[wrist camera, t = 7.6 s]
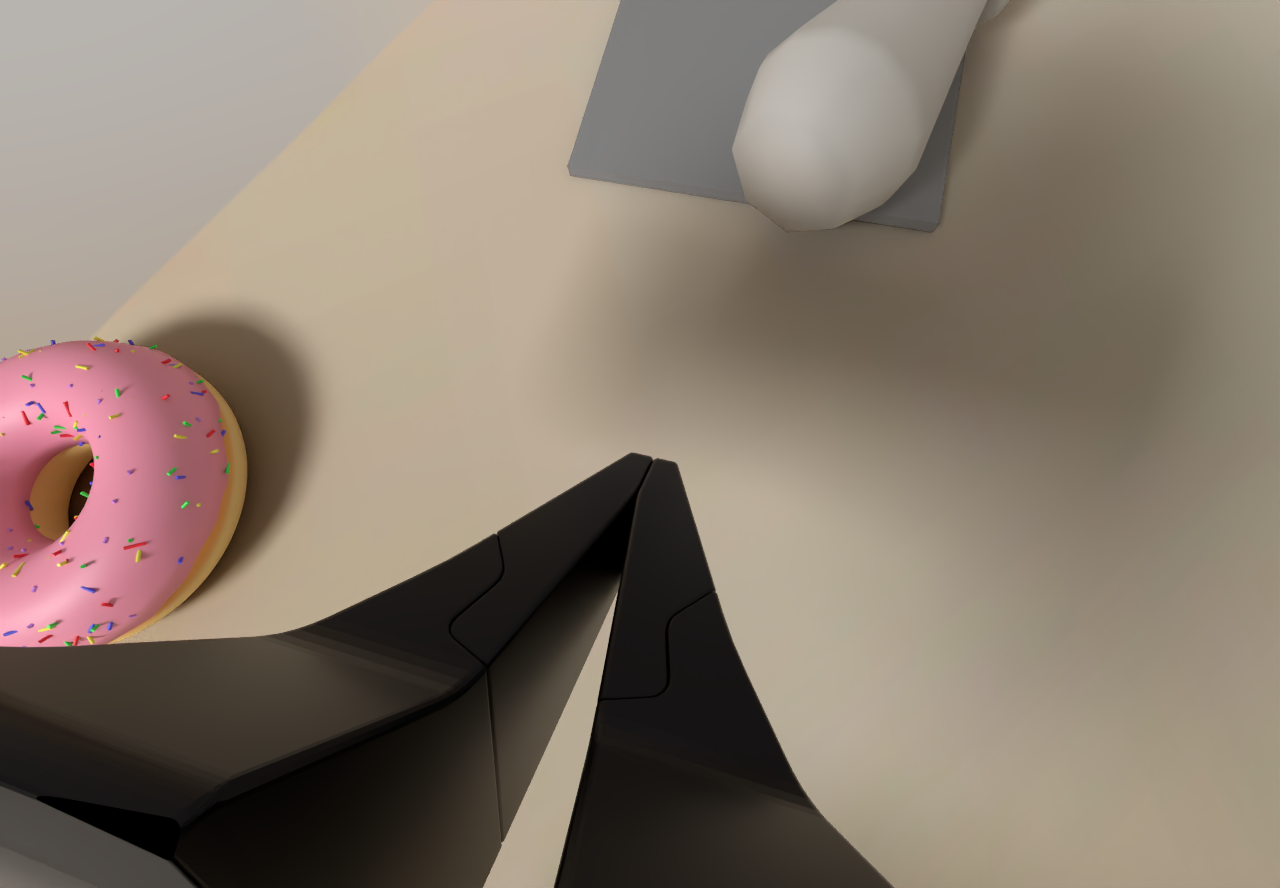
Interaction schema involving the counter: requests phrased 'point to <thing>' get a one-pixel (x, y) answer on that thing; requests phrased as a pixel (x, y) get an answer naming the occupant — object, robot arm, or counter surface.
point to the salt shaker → (850, 106)
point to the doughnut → (109, 490)
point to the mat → (713, 103)
